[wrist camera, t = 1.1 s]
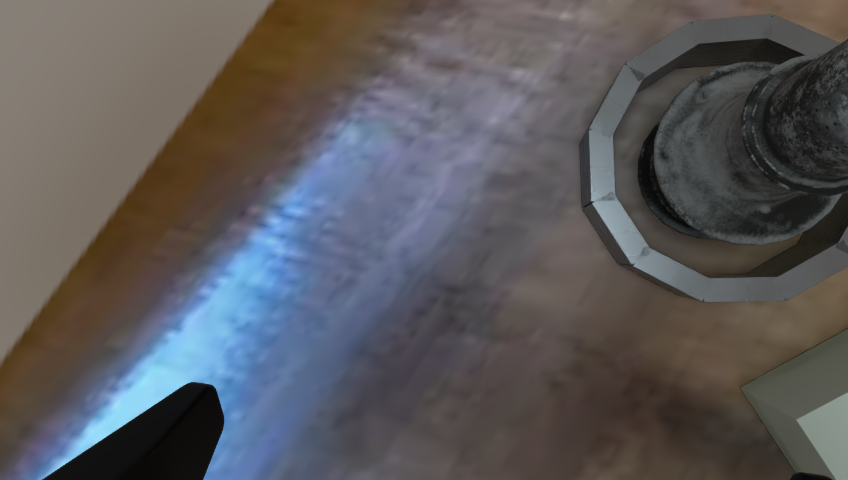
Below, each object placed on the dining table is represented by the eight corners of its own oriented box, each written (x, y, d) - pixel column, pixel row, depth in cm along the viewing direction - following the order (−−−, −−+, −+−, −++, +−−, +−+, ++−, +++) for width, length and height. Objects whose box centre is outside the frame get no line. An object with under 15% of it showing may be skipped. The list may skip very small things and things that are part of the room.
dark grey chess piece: (669, 70, 21) (880, -167, 9) (821, 129, 20) (1271, -48, 8) (604, 208, 21) (726, 151, 9) (751, 272, 20) (1091, 298, 9)
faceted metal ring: (905, 208, 20) (962, 202, 17) (668, 342, 21) (690, 354, 18) (752, -4, 21) (785, -40, 18) (533, 134, 22) (537, 118, 19)
